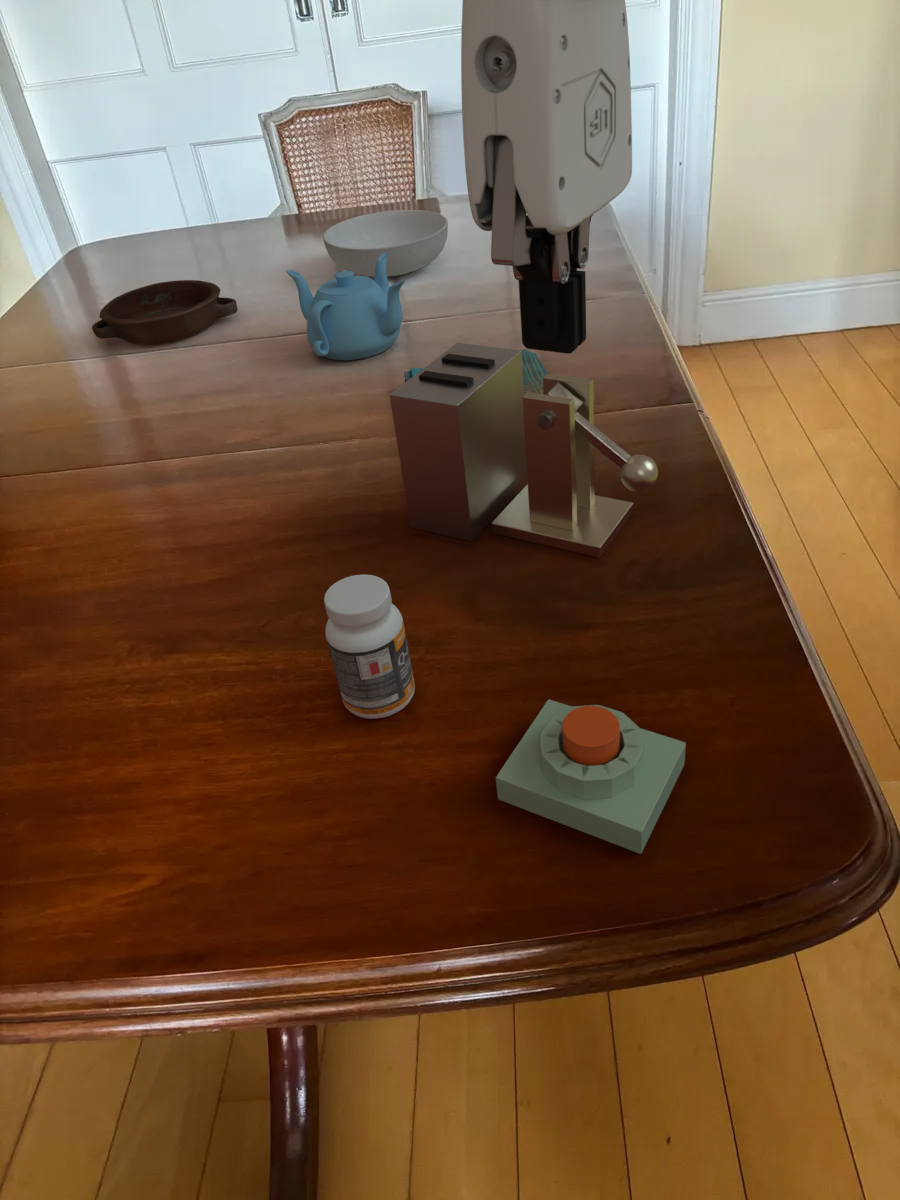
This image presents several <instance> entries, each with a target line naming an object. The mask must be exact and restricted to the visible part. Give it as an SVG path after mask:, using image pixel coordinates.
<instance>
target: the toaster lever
mask: <svg viewBox="0 0 900 1200" xmlns="http://www.w3.org/2000/svg"><path fill="white" fill-rule="evenodd" d="M547 395H550V396H557V397H563V398H570V399H574V408H575V432H577V433H578V434H579V435H580V436H582V437H583V438H584V439H585V440H586V441H588V442H589V443H590V444H591V445H592V446H594V449H596V450H597V451H598V452H599V453H601V454H602V455H603V456H604V457H606V458H607V459H608V460H610V462H611V463H613V464H614V465H616V467H618V468H619V469H620V470H619V476H620V480H621V483H622V484H623V486H624V487H625V488H626V489H628V490H629V491H631V492H635V493H642V492H646V491H648V490H650V489H651V488H653V486H654V485H655V484H656V482H657V480H658V478H659V477H658V476H659V469H658V466H657V464H656V462H655V460H654V459H652V458H651V457H650V456H648V455H645V454H634V455H632V456H631V455H630V453H628V452H627V451H625V449H623V448H622V447H621V446H620V445H618V444H617V443H616V442H615V441H614V440H612V439H611V438H610V437H609V436H607V435H606V434H605V433H604V432H602V431H601V430H600V429H599V428H597V426H595V424H594V425H593V424H591V423H590V422H589V421H588V420H587V419H585V418H584V417H583V416H582V415H580V414H579V413H578V412H577V411H578V409H579V408H580V407H581V405H582V404H583V402H582V401H580V400H579V399H578V398H577V397H575V396H574V395H573V394H572V393H571V392H569V391H568V390H567V389H566V388H564V387H563V386H562V385H561V384H560V383H557V384H556V385H555V386H554V387H553V388H552V389H551V390H550V391H549V392H548V393H547Z"/></svg>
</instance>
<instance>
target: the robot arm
mask: <svg viewBox="0 0 900 1200" xmlns="http://www.w3.org/2000/svg"><path fill="white" fill-rule="evenodd" d="M461 6H462V7H461V8H462V10H461V14H462V15H461V37H460V38H461V39H460V40H461V42H460V43H461V45H460V68H461V69H460V70H461V71H460V73H461V74H460V79H461V81H460V83H461V87H460V90H461V119H462V140H463V141H462V142H463V154H464V164H465V165H464V167H465V178H466V179H465V180H466V186H467V187H466V188H467V196H468V201H469V207H470V212H471V216H472V220H473V221H474V223H475V225H476V226H477V228H479V229H480V230H482V231H484V232H491V239H490V240H491V242H490V243H491V245H490V259H491V262H492V264H493V265H495V266H496V265H497V266H512V274H513V278H514V279H515V281H518V291H519V292H518V294H519V310H520V311H519V313H520V328H521V342H522V346H523V347H524V348H525V349H527V350H535V351H543V352H551V353H561V354H568V355H570V354H572V353H574V351H576V350H577V349H578V347H579V346H581V345H582V344H583V343H585V342H586V340H587V301H586V300H587V294H586V292H587V291H586V290H587V289H586V284H587V283H586V282H587V281H586V270H584V269H585V268H586V266H587V265H588V261H589V254H590V253H589V251H590V250H589V249H590V229H591V222H592V218H593V216H594V215H595V214H596V213H597V212H598V211H600V210H602V209H603V208H604V207H606V206H607V205H608V204H609V203H610V202H613V200H615V199H616V198H617V197H618V196H619V195H621V193H623V192H624V190H625V189H626V188H627V187H628V185H629V183H630V182H631V178H632V175H633V126H632V125H633V124H632V123H633V119H632V87H631V86H632V84H631V82H632V81H631V58H630V57H631V56H630V40H629V39H630V38H629V24H628V23H629V22H628V15H627V14H628V13H627V5H626V0H462V5H461ZM578 269H579V270H578Z"/></svg>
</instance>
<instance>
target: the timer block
mask: <svg viewBox="0 0 900 1200" xmlns="http://www.w3.org/2000/svg"><path fill="white" fill-rule="evenodd" d="M583 706H584V705H574V706H573V705H568V704H565V703H562V702H560V701H555V700H553V699H550V698H549V699H547V700H546V701H545V704H544V705H543V706H542V708H541V709H540V710H539V713H538V714H537V715H536V717H535V718H534V720H533V721H532V723H531V724H530V726H529V727H528V728H527V730H526V732H525V733H524V734H523V736H522V737H521V739H520V741H519V742H518V744H517V745H516V747H515V748H514V750H513V751H512V752H511V754H510V755H509V757H508V759H507V760H506V761H505V763H504V764H503V766H501V769H500V770H499V772H498V773H497V775H496V776H495V785H496V794H497V795H496V796H497V800H498V801H501V802H503V803H507V804H508V805H512V806H515V807H517V808H520V809H522V810H525V811H527V812H530V813H532V814H535V815H538V816H541V817H543V818H545V819H548V820H551V821H554V822H555V823H558V824H560V825H564V826H566V827H569V828H572V829H575V830H577V831H579V832H582V833H585V834H587V835H590V836H593V837H595V838H598V839H600V840H603V841H605V842H608V843H611V844H614V845H616V846H618V847H622V848H624V849H626V850H628V851H631V852H633V853H636V854H639V855H641V854H643V851H644V850H645V847H646V845H647V843H648V841H649V839H650V837H651V835H652V833H653V830H654V829H655V827H656V824H657V823H658V820H659V819H660V816H661V814H662V812H663V811H664V808H665V805H666V804H667V801H668V800H669V798H670V795H671V794H672V791H673V790H674V788H675V786H676V783H677V781H678V779H679V777H680V775H681V773H682V771H683V769H684V767H685V763H686V749H687V748H686V747H687V743H686V741H682V740H678V739H676V738H672V737H669V736H666V735H662V734H660V733H656V732H654V731H650V730H648V729H644V728H641V727H639V726H638V725H637V724H636V723H635V722H634V721H633V720H632V719H631V718H630V717H628V716H627V715H626V714H625V713H624V712H622V711H620V710H617V709H613V708H611V707H607V706H604V705H600V704H589V705H587V704H586V705H585V706H597V707H602V708H604V709H607V710H609V711H610V712H612V713H613V714H614V715H615V716H616V718H617V719H618V721H619V725H620V742H619V750H618V753H617V754H616V756H615V757H614V758H613V759H611V760H610V761H608V762H606V763H604V764H600V765H583V764H580V763H577V762H575V761H573V760H572V759H571V758H570V757H568V755H567V754H566V753H565V751H564V748H563V734H562V723H563V720H564V718H565V717H566V715H567V714H568V713H570V712H571V711H572V710H574V709H576V708H579V707H583Z"/></svg>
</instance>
